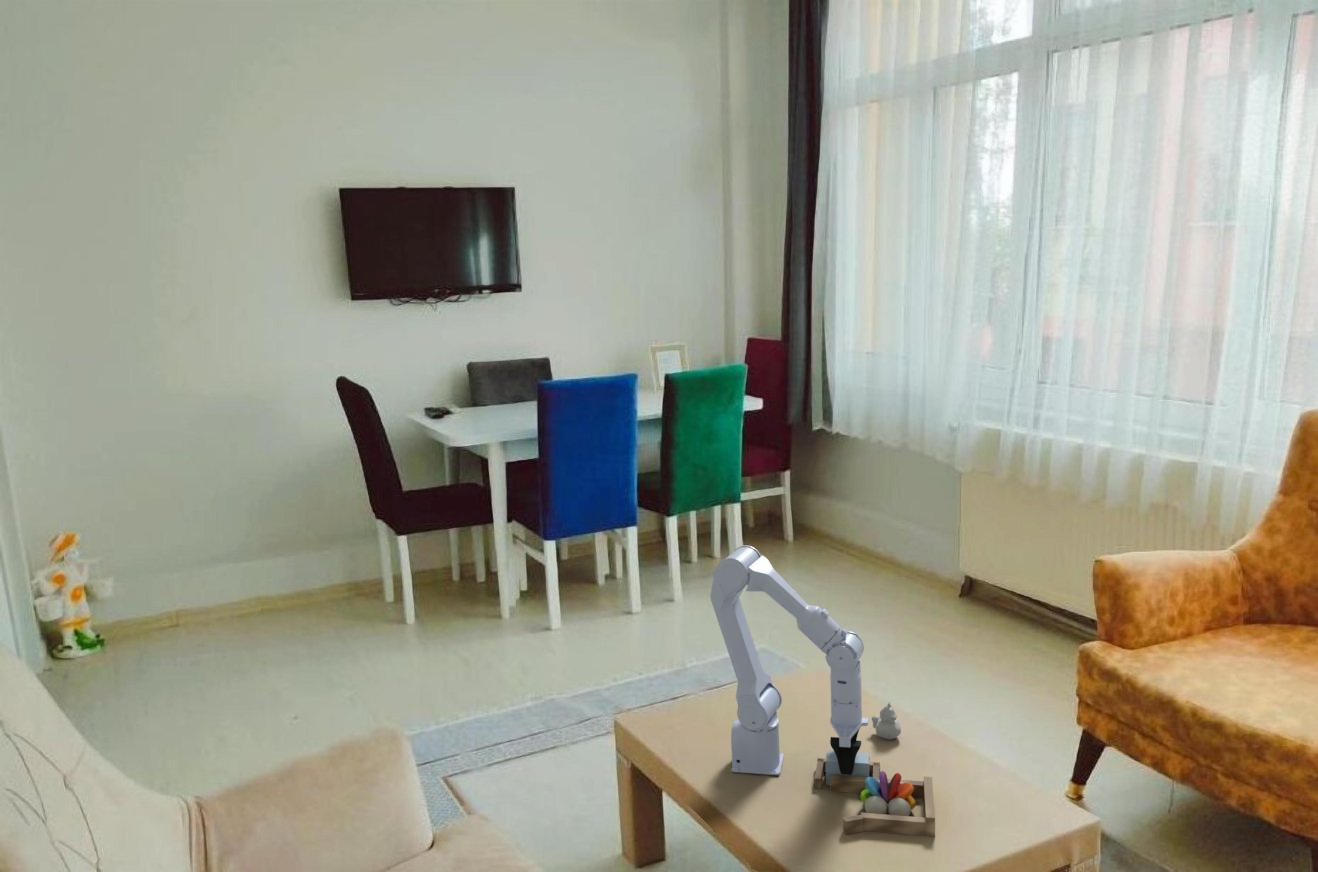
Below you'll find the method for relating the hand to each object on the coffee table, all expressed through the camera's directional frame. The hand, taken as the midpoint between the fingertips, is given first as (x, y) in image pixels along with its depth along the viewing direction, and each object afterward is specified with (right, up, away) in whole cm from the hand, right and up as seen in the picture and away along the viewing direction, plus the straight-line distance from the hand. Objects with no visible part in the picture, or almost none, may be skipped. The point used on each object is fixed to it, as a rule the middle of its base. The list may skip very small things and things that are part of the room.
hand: (847, 763), depth 185 cm
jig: (+3, -5, -7) cm, 9 cm away
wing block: (0, -4, +1) cm, 4 cm away
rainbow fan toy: (+5, -5, -10) cm, 12 cm away
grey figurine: (+11, 0, +17) cm, 20 cm away
